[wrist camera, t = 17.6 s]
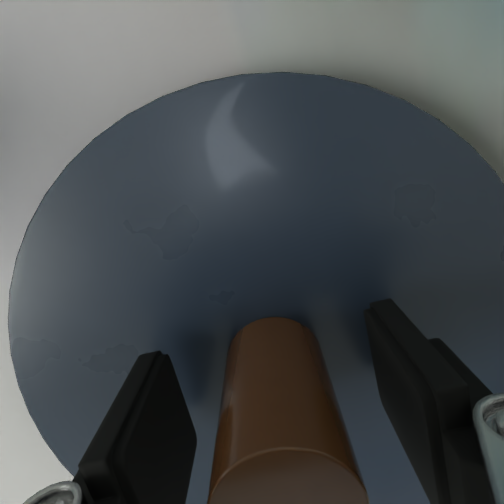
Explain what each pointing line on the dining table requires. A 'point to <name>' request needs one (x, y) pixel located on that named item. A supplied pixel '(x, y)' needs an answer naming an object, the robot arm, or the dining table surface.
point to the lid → (260, 279)
